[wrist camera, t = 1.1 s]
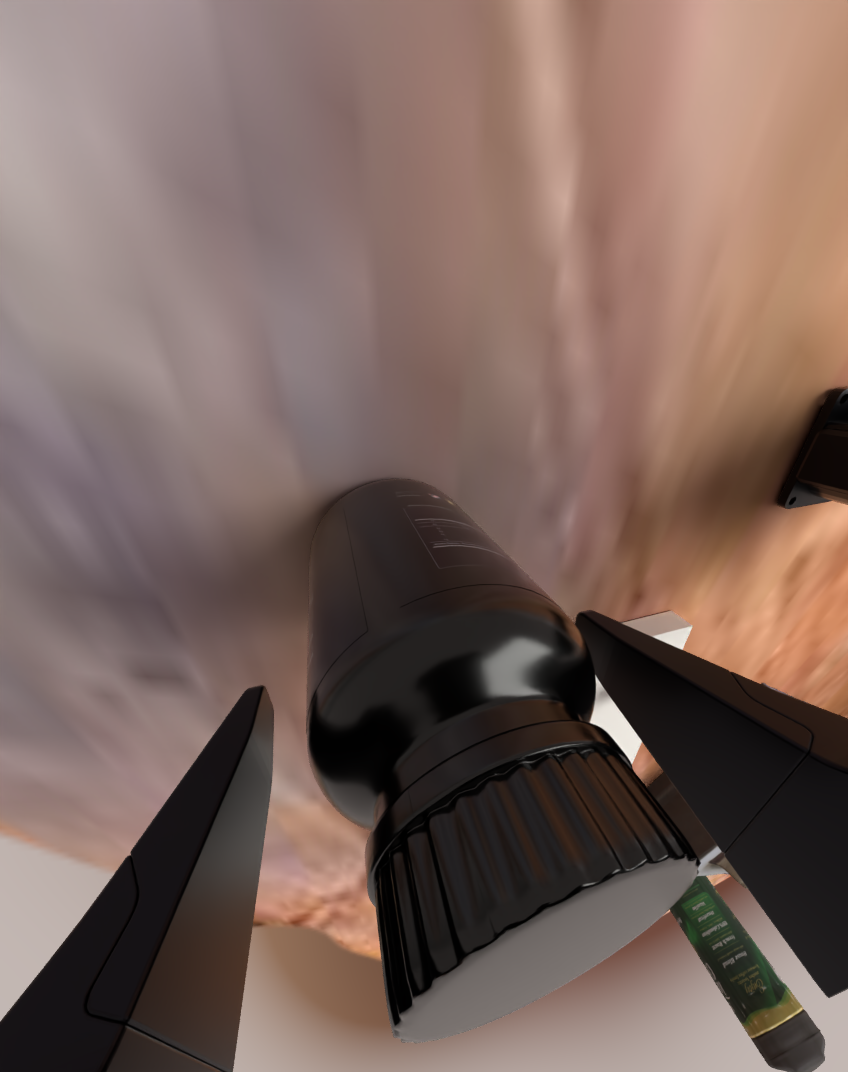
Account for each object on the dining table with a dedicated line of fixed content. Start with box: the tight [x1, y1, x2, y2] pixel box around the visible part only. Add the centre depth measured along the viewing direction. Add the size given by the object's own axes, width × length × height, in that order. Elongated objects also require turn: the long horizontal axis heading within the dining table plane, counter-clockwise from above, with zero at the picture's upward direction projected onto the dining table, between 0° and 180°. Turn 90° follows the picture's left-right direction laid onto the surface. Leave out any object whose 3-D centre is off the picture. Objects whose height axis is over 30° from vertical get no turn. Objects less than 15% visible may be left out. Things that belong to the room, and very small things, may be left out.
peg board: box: [590, 611, 692, 764], centre depth 23 cm, size 20×20×4 cm
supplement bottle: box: [306, 479, 701, 1043], centre depth 10 cm, size 7×7×12 cm
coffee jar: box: [670, 876, 825, 1072], centre depth 50 cm, size 10×8×19 cm
